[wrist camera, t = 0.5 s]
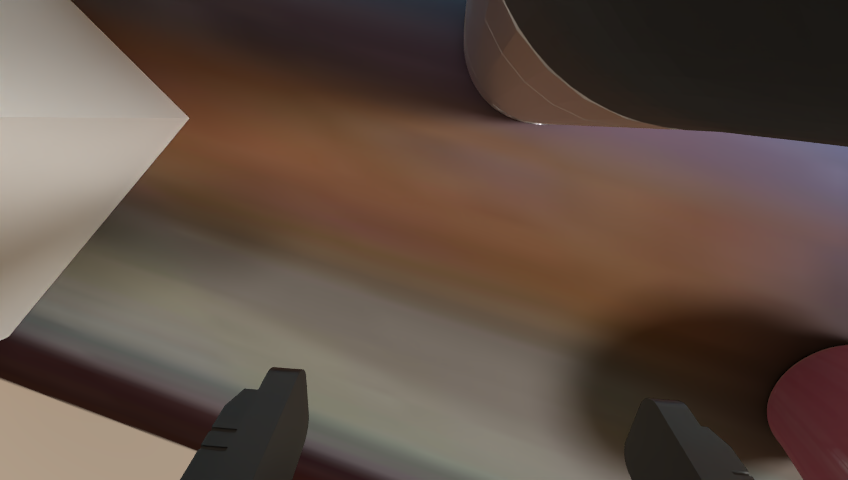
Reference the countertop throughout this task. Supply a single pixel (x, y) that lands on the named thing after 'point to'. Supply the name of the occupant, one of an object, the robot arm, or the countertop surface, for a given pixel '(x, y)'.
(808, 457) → the plant pot
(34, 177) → the cabinet
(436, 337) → the countertop surface
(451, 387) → the countertop surface
